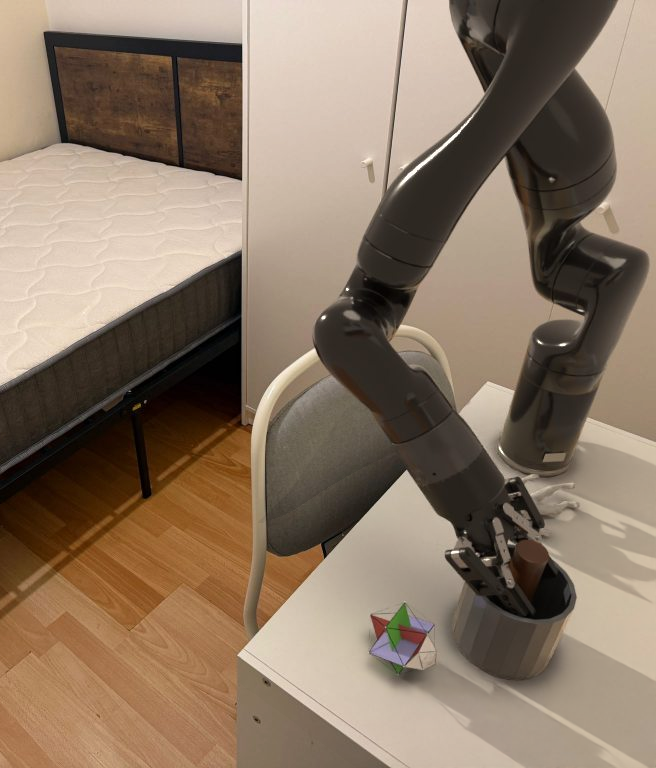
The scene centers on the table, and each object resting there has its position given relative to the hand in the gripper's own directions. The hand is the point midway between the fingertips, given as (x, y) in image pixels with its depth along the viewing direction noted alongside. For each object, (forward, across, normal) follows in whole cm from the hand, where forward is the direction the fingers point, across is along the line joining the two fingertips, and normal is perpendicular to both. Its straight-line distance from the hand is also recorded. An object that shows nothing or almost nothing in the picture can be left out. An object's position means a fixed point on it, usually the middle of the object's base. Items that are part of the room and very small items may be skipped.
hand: (537, 595), depth 75 cm
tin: (+5, 0, +8) cm, 9 cm away
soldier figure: (+2, +20, +11) cm, 23 cm away
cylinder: (+5, 0, +7) cm, 9 cm away
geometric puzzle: (0, -9, +13) cm, 16 cm away
